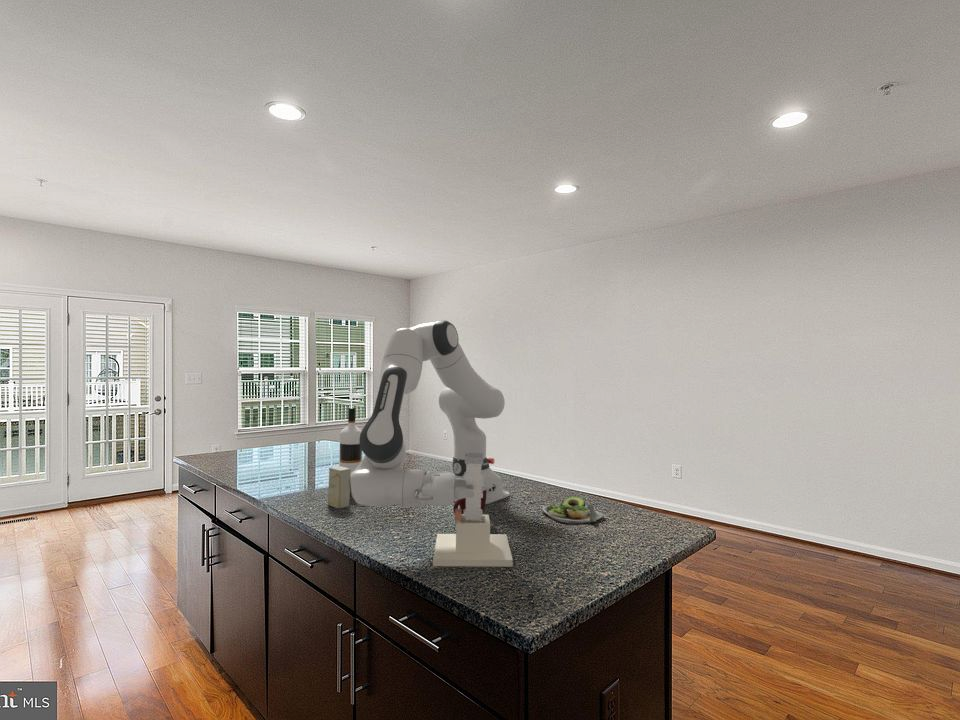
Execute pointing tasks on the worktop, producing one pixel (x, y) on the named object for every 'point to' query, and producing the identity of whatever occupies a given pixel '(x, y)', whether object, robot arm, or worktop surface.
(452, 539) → the stand
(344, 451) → the vodka
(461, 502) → the mug
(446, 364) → the robot arm
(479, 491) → the column
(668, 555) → the worktop surface
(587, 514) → the salad plate
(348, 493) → the skincare box
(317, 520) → the worktop surface
